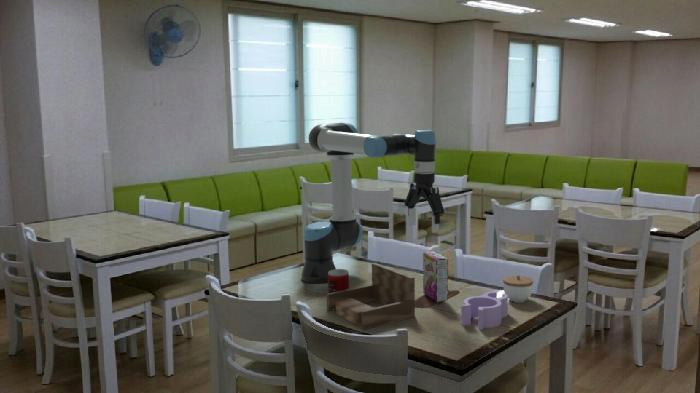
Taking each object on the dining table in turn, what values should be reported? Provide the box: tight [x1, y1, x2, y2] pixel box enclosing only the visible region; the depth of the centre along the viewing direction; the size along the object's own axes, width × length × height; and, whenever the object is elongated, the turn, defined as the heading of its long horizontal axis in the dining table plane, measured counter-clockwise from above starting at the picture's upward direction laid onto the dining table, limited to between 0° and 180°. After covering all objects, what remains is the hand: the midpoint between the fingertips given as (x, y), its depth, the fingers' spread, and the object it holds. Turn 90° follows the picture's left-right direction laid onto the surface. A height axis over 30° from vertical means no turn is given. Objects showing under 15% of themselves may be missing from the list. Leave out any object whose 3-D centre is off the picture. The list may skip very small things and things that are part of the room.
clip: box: [460, 291, 509, 331], centre depth 217 cm, size 20×12×7 cm, turn 139°
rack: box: [326, 262, 416, 330], centre depth 225 cm, size 24×21×14 cm
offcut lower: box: [335, 309, 361, 326], centre depth 223 cm, size 14×7×2 cm, turn 31°
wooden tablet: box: [415, 289, 460, 309], centre depth 241 cm, size 26×2×10 cm
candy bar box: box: [422, 250, 449, 303], centre depth 238 cm, size 11×5×16 cm, turn 21°
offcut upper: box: [335, 298, 374, 320], centre depth 222 cm, size 14×7×2 cm, turn 34°
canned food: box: [327, 268, 350, 293], centre depth 241 cm, size 8×8×11 cm
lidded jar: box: [502, 274, 534, 303], centre depth 236 cm, size 11×11×9 cm
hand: (423, 228), depth 239 cm, fingers open, 13 cm apart
